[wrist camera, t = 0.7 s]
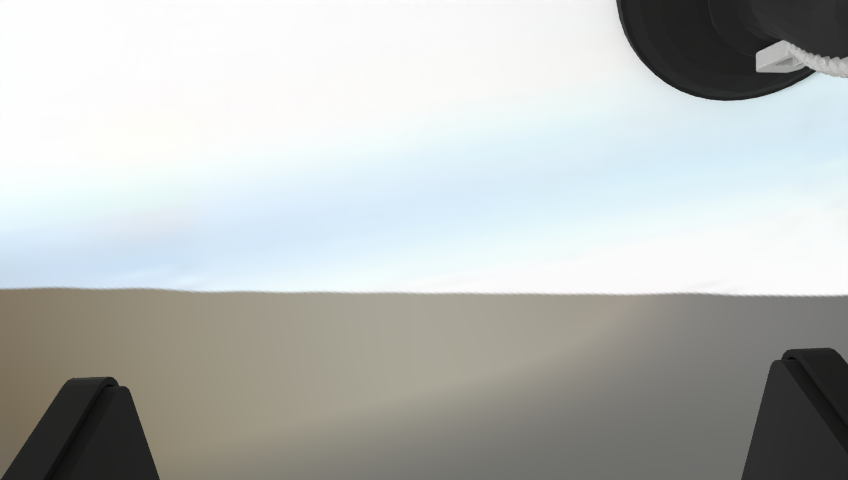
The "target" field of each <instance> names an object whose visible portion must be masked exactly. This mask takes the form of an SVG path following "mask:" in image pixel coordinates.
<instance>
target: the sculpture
mask: <svg viewBox="0 0 848 480" xmlns="http://www.w3.org/2000/svg"><path fill="white" fill-rule="evenodd" d="M616 1H617V7H618V13H619V18H620V21H621V24H622V27H623V30H624V33H625V35H626V37H627V39H628V41H629V43H630V45H631V47H632V48H633V50H634V51H635V53H636V54H637V56H638V57H639V59H640V60H641V61H642V62H643V63H644V64H645V65H646V66H647V67H648V68H649V69H650V70H651V71H652V72H653V73H654V74H655V75H656V76H658V77H659V78H660V79H662V80H663V81H664V82H666V83H667V84H669V85H670V86H672V87H674V88H676V89H678V90H680V91H682V92H685V93H687V94H690V95H693V96H696V97H701V98H705V99H710V100H722V101H731V100H745V99H751V98H757V97H761V96H764V95H768V94H771V93H775V92H777V91H780V90H782V89H785V88H787V87H789V86H792V85H794V84H795V83H797V82H799V81H801V80H803V79H805V78H807V77H808V76H810V75H811V74H813V73H814V72H816V71H817V72H821V73H824V74H826V75H827V74H829V75H831V76H839V77H842V78H848V0H616Z"/></svg>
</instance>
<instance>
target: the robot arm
mask: <svg viewBox="0 0 848 480" xmlns="http://www.w3.org/2000/svg"><path fill="white" fill-rule="evenodd" d="M1 480H160V479H159V476H158V473H157V470H156V467H155V464H154V461H153V458H152V455H151V452H150V449H149V447H148V443H147V441H146V438H145V435H144V431H143V429H142V426H141V423H140V420H139V417H138V414H137V411H136V408H135V405H134V402H133V399H132V396H131V393H130V391H129V389H128V388H127V387H125V386H119V385H118V383H117V381H116V380H115V379H114V378H113V377H91V378H72V379H70V380H68V381H67V382H66V383H65V384H64V385H63V387H62V388H61V390H60V391H59V393H58V394H57V396H56V397H55V399H54V400H53V402H52V403H51V405H50V406H49V408H48V409H47V411H46V412H45V414H44V415H43V417H42V418H41V420H40V421H39V423H38V425H37V426H36V428H35V429H34V430H33V432H32V434H31V435H30V436H29V438H28V440H27V441H26V443H25V444H24V446H23V447H22V449H21V450H20V452H19V453H18V455H17V456H16V458H15V459H14V461H13V462H12V464H11V465H10V467H9V468H8V470H7V471H6V473H5V474H4V476H3V477H2V479H1ZM741 480H848V364H847V363H846V362H845V360H844V359H843V358H842V357H841V355H840V354H838V353H837V352H836V351H835V350H834V349H831V348H813V349H812V348H811V349H791V350H787V351H786V352H785V353H784V354H783V357H782V359H781V360H776V361H774V362H773V363H772V365H771V367H770V371H769V374H768V378H767V382H766V386H765V390H764V394H763V397H762V402H761V405H760V409H759V413H758V417H757V421H756V425H755V428H754V433H753V436H752V440H751V444H750V448H749V452H748V456H747V460H746V463H745V467H744V471H743V475H742V479H741Z"/></svg>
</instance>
